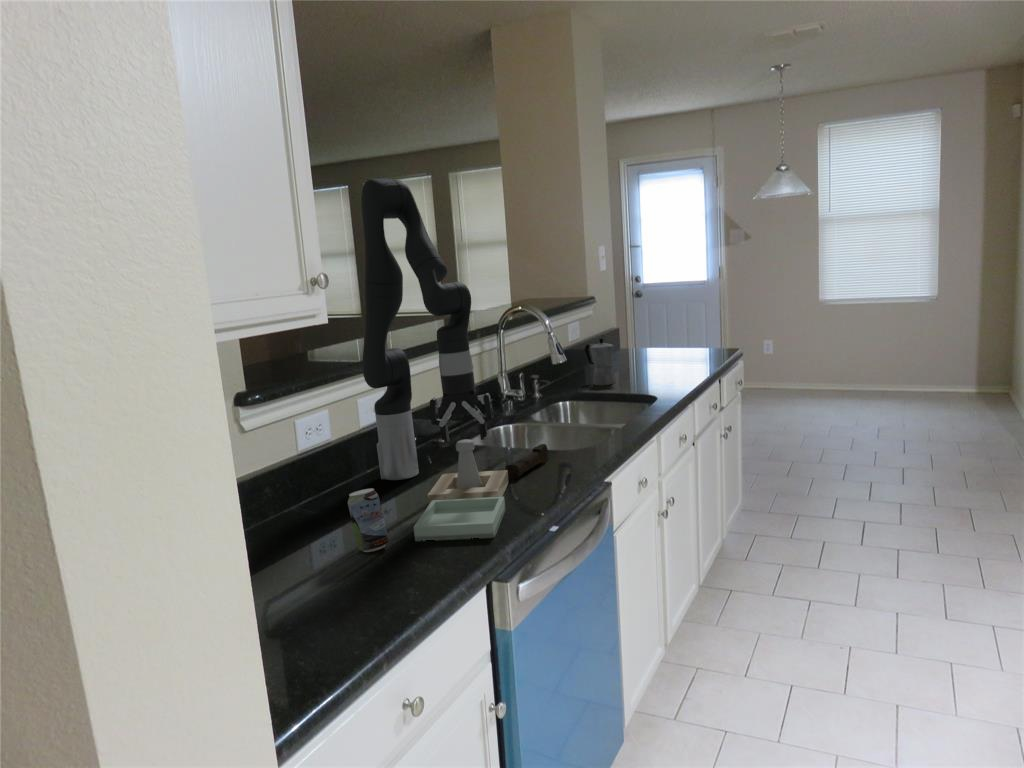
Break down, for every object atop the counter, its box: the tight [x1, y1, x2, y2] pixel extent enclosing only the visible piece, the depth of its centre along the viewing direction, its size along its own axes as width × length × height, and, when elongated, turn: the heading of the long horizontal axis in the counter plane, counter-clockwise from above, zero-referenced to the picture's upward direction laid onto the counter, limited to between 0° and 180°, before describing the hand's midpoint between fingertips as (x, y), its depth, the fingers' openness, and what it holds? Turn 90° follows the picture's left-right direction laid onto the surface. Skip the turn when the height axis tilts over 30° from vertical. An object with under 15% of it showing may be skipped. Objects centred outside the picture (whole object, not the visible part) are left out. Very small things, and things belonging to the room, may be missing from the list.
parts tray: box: [413, 496, 506, 542], centre depth 158 cm, size 16×16×3 cm
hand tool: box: [504, 443, 549, 480], centre depth 195 cm, size 19×4×5 cm, turn 147°
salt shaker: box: [455, 438, 482, 489], centre depth 177 cm, size 6×6×13 cm
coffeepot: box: [584, 337, 617, 386], centre depth 301 cm, size 15×9×18 cm, turn 44°
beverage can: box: [347, 487, 389, 553], centre depth 149 cm, size 6×7×12 cm
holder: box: [427, 469, 509, 505], centre depth 178 cm, size 16×16×3 cm
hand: (465, 440), depth 176 cm, fingers open, 8 cm apart
